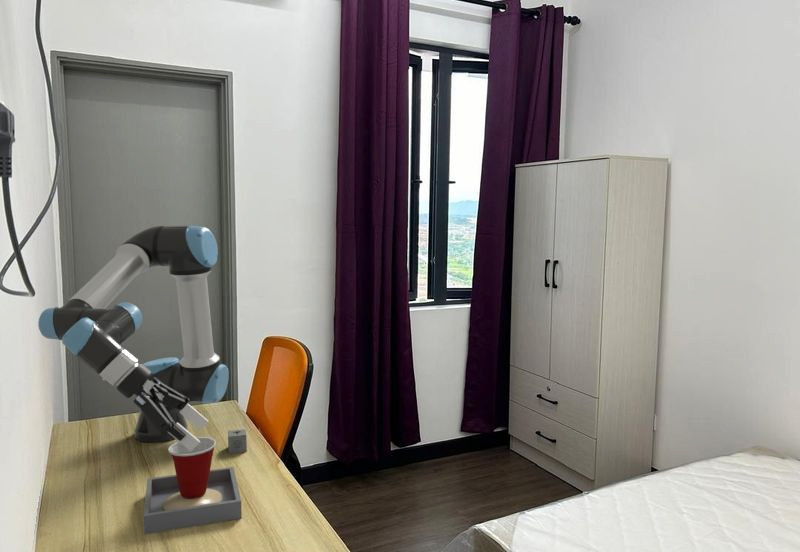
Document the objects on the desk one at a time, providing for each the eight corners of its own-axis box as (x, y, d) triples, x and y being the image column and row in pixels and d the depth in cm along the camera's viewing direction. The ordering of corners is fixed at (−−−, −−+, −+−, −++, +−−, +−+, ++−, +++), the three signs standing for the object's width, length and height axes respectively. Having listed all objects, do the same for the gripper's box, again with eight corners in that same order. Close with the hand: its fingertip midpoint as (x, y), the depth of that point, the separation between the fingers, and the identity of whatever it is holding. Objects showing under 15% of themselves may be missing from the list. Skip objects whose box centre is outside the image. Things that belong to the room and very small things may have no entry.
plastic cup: (160, 492, 144) (161, 442, 144) (204, 481, 152) (205, 433, 151) (178, 507, 136) (178, 455, 136) (223, 495, 143) (224, 445, 143)
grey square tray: (148, 494, 147) (147, 478, 146) (233, 482, 154) (233, 466, 153) (144, 534, 128) (143, 516, 128) (241, 518, 135) (241, 500, 135)
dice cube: (245, 445, 179) (245, 429, 178) (246, 451, 174) (246, 434, 174) (228, 447, 177) (227, 430, 177) (228, 453, 173) (228, 436, 172)
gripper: (130, 372, 147) (196, 428, 151) (97, 403, 123) (178, 469, 127) (152, 350, 148) (218, 406, 152) (124, 376, 123) (204, 443, 127)
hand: (200, 435), depth 139 cm, fingers open, 13 cm apart
